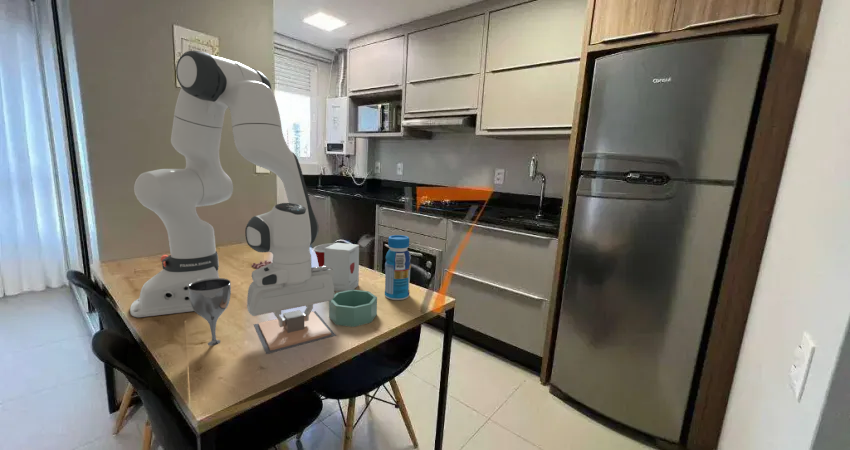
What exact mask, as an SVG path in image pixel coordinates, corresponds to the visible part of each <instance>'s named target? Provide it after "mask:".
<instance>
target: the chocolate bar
mask: <svg viewBox="0 0 850 450" xmlns="http://www.w3.org/2000/svg"><path fill="white" fill-rule="evenodd" d="M271 263H273V262H272V260H271V261H270V260H269V261H268V260H264V261H262V260H261V261H259V263H256V262H253V263H252V264H251V267H252V268H253V269H254V270H256V269H259V268H261V267H264V266H266V265H268V264H271Z"/></svg>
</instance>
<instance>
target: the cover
mask: <svg viewBox="0 0 850 450" xmlns="http://www.w3.org/2000/svg"><path fill="white" fill-rule="evenodd" d="M302 313H303V312H302V310H300V309H298V310H293V311H287V312H283V315H282V317H285V319H286V326H283V327H280V326H279V322H278V319H277V318H275V319H271V320H266V321H265V320H264V321H261V322H258V323H257V324H258V325H259V327H260V330H261V332H262V334H263V336H264V338H265V340H266V342H267V345H268V347H269V349H270V351H271V350H275V349H278V348H282V347H286V346H290V345H294V344H298V343H301V342H305V341H309V340H313V339H317V338H320V337H324V336H328V335H331V332H330V331H329V329H328V328H327V327H326V326H325V325H324V324H323V322H322V321H321V320H320V319H319V318H318V316H317V315H316V314H315V313H314V311H311V312H310V314H309V321H305V322H304V315H303V314H302Z"/></svg>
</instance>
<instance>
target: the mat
mask: <svg viewBox="0 0 850 450" xmlns="http://www.w3.org/2000/svg"><path fill="white" fill-rule="evenodd" d="M313 312H314V313H315V314H316V315H317V316H318V318H319V319H320V320H321V321H322V322H323V324H324V325H325V326H326V327H327V328H328V329H329V331H330V332H331V335H328V336H324V337H320V338H317V339H313V340H309V341H305V342H301V343H298V344H294V345H290V346H286V347H282V348H278V349H275V350H271V351H270V349H269V347H268V345H267V342H266V340H265V338H264V336H263V334H262V332H261V330H260V327H259V325H258V323H254V324H253V327H254V329H255V331H256V333H257V336H258V338H259V341H260V342H261V345H262V348H263V350H264V352H265V354H266V355H268V354H273V353H277V352H279V351H280V352H281V351H283V350H287V349H291V348H295V347H298V346H303V345H306V344H307V345H308V344H310V343H313V342H317V341H318V342H319V341H322V340H325V339H329V338H332V337H336V336H337V334H336V333H335V332H334V331H333V330H332V328H331V327H330V326H329V325H328V324H327V322H325V320H324V319H323V318H322V317H321V315H320V314H318V312H317V311H316V310H315V311H313Z"/></svg>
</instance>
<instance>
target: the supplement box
mask: <svg viewBox="0 0 850 450" xmlns="http://www.w3.org/2000/svg"><path fill="white" fill-rule="evenodd" d="M334 243H335V244H333V245H330V246H328V247H326V248H324V266H328V267H331V268H332V269H333V270H334V278H333V285H334V292H335V291H336V292H343V291H348V290H356V288H357V287H358V286H359V282H360V281H359V279H360V278H359V277H360V275H359V273H360V244H355V243H354V244H353V243H344V242H334Z"/></svg>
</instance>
